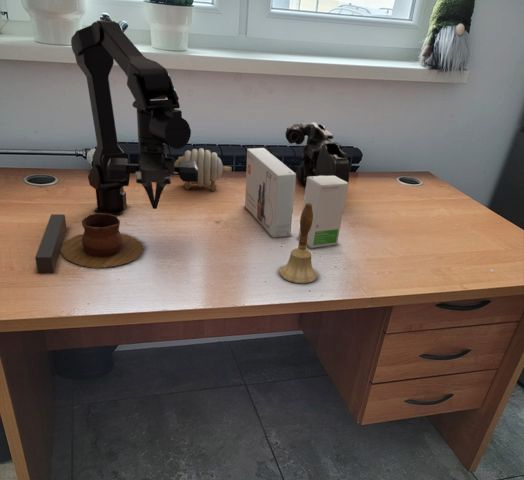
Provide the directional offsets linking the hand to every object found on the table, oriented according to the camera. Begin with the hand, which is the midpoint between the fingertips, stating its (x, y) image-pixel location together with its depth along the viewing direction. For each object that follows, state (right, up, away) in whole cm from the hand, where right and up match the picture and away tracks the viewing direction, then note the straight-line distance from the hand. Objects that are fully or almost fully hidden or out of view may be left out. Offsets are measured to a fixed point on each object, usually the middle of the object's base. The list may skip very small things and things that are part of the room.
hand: (154, 208), depth 115 cm
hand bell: (+32, -15, -1) cm, 36 cm away
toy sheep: (+6, +16, +37) cm, 41 cm away
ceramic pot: (-12, -9, 0) cm, 15 cm away
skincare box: (+25, +2, +21) cm, 33 cm away
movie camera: (+41, +18, +44) cm, 63 cm away
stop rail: (-22, -10, -2) cm, 24 cm away
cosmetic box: (+38, -5, +14) cm, 41 cm away
